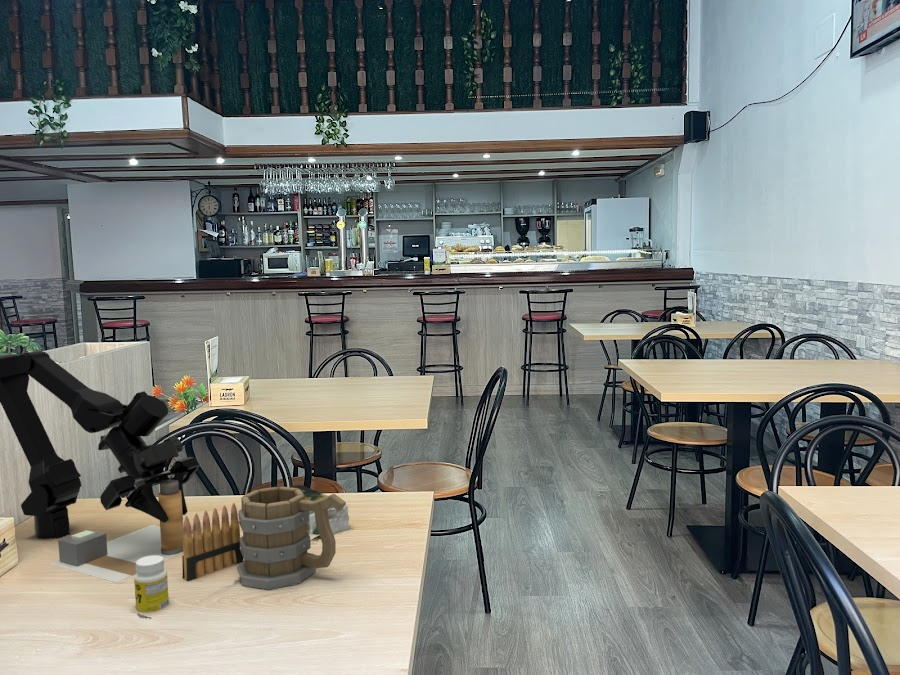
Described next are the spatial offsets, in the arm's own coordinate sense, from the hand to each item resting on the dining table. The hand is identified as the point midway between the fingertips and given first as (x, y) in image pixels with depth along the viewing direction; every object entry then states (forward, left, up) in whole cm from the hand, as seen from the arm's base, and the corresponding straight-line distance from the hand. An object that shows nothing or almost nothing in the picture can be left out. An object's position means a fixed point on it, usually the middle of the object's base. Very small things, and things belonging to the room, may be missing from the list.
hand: (176, 517), depth 133 cm
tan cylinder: (-1, 0, -7) cm, 7 cm away
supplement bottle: (+14, -17, -8) cm, 23 cm away
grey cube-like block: (-14, -10, -7) cm, 18 cm away
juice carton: (+10, +25, -8) cm, 28 cm away
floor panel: (-8, -3, -8) cm, 11 cm away
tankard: (+25, +3, -8) cm, 26 cm away
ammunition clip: (+12, -3, -8) cm, 15 cm away
